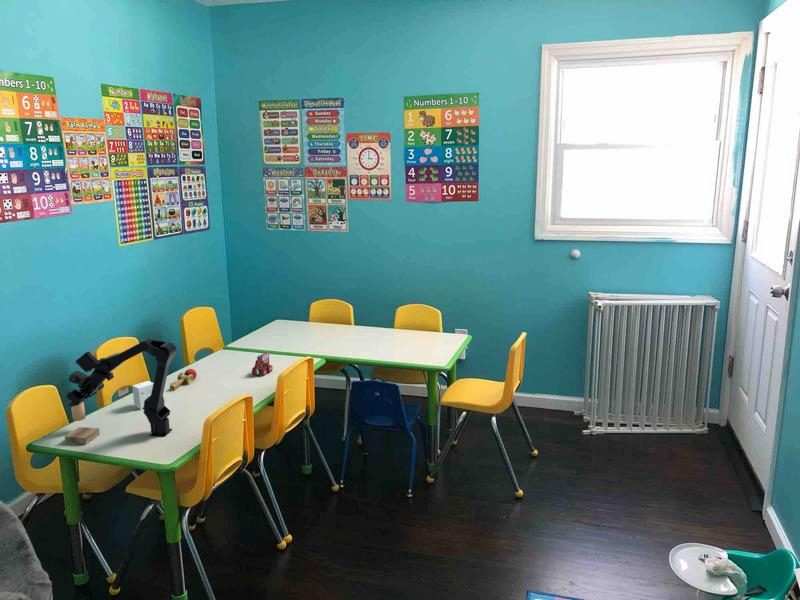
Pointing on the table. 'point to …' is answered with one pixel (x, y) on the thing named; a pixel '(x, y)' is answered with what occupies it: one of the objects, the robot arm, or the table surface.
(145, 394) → the small box
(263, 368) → the toy fire truck
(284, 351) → the table surface
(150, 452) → the table surface
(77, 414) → the cylinder block
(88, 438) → the base slab
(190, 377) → the kendama
